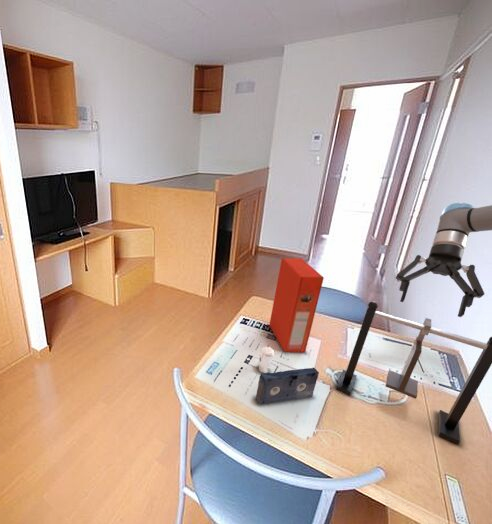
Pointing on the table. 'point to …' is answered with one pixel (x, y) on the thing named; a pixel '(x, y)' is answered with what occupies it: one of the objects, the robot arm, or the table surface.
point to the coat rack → (446, 422)
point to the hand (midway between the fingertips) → (430, 307)
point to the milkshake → (265, 358)
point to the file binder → (295, 303)
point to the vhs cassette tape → (286, 385)
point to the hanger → (409, 367)
